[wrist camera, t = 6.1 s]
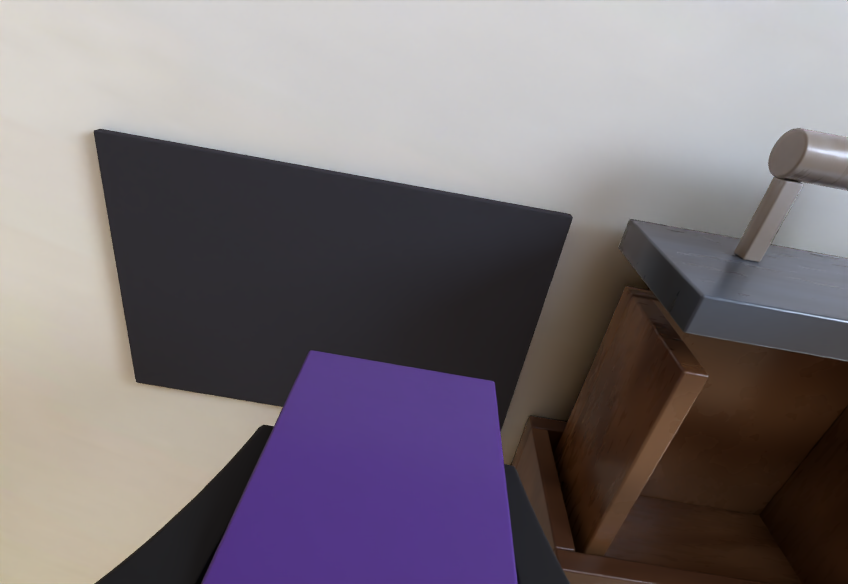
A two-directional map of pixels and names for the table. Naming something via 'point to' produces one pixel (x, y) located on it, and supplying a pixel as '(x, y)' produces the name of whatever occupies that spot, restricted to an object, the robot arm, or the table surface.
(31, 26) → the table surface
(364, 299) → the mat
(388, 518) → the snack box
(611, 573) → the cabinet
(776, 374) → the drawer
